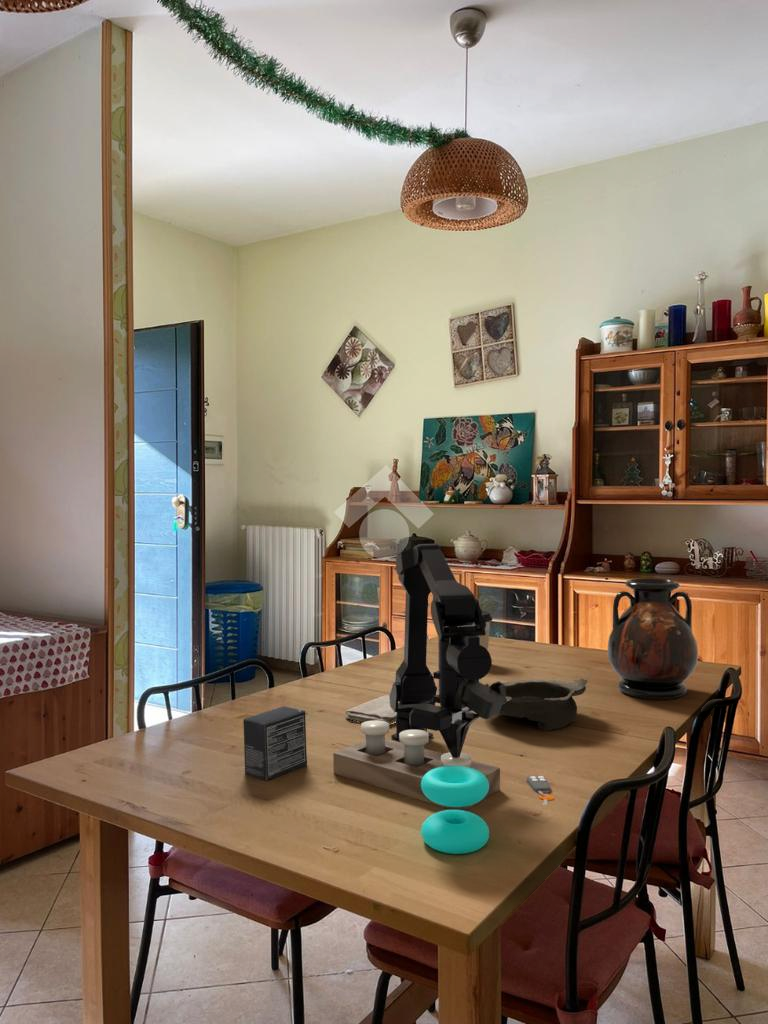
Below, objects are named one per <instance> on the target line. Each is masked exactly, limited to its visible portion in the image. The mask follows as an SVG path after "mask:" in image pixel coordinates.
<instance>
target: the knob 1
mask: <svg viewBox="0 0 768 1024" xmlns="http://www.w3.org/2000/svg"><path fill="white" fill-rule="evenodd" d="M360 732H361V734H363V735H364V736H365V740H366V753H367V754H370V755H374V756H379V755H381V754H384V753H385V739H386V735H387V734H388V733H389V732H390V726H389V723H387V722H385V721H378V720H374V721H366V722H363V723H360Z"/></svg>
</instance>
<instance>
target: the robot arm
mask: <svg viewBox="0 0 768 1024" xmlns="http://www.w3.org/2000/svg"><path fill="white" fill-rule="evenodd" d="M443 548H444V547H443V546H442V544H439V543H418V544H417V545H414V546H413V548H409V549H406V550H403V551H401V552H400V553H399V554H398V555H397V556H396V558H395V571H396V574H397V576H398V577H397V578H398V581H399V583H400V585H401V586H402V588H403V590H404V591H405V605H404V606H405V611H404V645H403V646H404V650H403V660H402V662H401V664H400V665H399V666H398V669H397V670H396V671H395V681H394V682H393V684H392V687H391V690H390V694H389V698H390V707H391V708H392V709H393V711H394V712H397V718H396V724H395V725H396V726H395V729H396V732H395V733H394V734H391V736H390V738H391V739H393V740H394V739H395V740H398V741H399V733H400V732H402V731H405V730H423V731H426V732H428V730H431V731H435V732H440V735H441V736H442V738H443V740H444V743H445V745H446V747H447V748H448V751H449V752H450V753H451V755H452V757H454V758H458V757H460V754H461V752H462V751H463V748H464V744H465V741H466V738H467V734H468V732H469V730H470V729H469V728H470V726H471V725H472V724H473V723H474V722H476V720H478V719H479V718H481V719H484V720H490V719H491V718H492V717H494V716H498V715H500V713H499V712H500V709H501V706H502V705H503V704H505V703H506V702H507V699H506V688H505V684H503V683H504V682H501V681H495V682H493V683H492V684H488V683H486V684H483V683H482V682H480V680H482V679H483V678H485V677H486V676H487V675H488V674H489V672H490V671H491V668H492V665H493V660H492V659H493V658H492V657H491V654H490V652H489V650H488V649H486V648H485V647H483V646H482V645H480V638H479V637H478V636H484V635H485V634H486V633H485V627H486V622H485V619H484V616H483V613H482V611H483V610H482V607H481V605H480V602H479V601H478V599H477V598H476V596H475V595H474V593H473V592H472V590H471V589H470V588H469V587H468V586H467V585H464V584H461V583H459V582H458V581H457V579H456V577H455V575H454V573H453V572H452V571H453V570H452V568H451V567H450V565H449V564H448V561H447V559H446V557H445V556H444V549H443ZM430 594H432V601H431V603H430V615H431V619H432V623H433V625H434V629H435V631H436V635H437V636H438V639H437V640H438V641H437V642H438V643H437V644H438V670H437V671H433V673H432V672H431V670H430V669H429V667H428V666H427V665H428V664H427V651H428V650H427V645H428V622H429V621H428V619H429V618H428V617H429V615H428V613H429V595H430ZM473 622H474V624H475V626H472V625H473ZM432 674H433V675H432ZM435 680H438V686H437V685H436V683H435ZM490 685H491V686H490ZM488 686H490V687H488ZM437 691H438V694H437ZM398 701H399V703H398ZM436 704H439V705H436ZM428 734H429V739H430V738H432V737H433V736H434V733H432V732H428Z"/></svg>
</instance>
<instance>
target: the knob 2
mask: <svg viewBox="0 0 768 1024" xmlns="http://www.w3.org/2000/svg"><path fill="white" fill-rule="evenodd" d="M471 761H472V756H471V755H470V754H468V753H466V752H462V751H461V754H460V757H458V758H454V757H452V755H451V753H450V751H449V752H445V753H443V755H441V765H442V766H463V767H470V766H471Z"/></svg>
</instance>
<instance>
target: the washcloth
mask: <svg viewBox="0 0 768 1024" xmlns="http://www.w3.org/2000/svg"><path fill="white" fill-rule="evenodd" d="M389 696H390V694H388V695H381V696H379V697H378V698H377V697H376V698H373V699H371V700H369V701H368V700H367V701H366V702H363V703H360V704H359V705H357V706H354V707H352V708H348V709H347V710H346V711H345V714H346V715H347V716H346V717H345V720H346V719H348V720H349V719H350V720H349V721H351V720H353V721H352V722H354V721H358V722H357V723H359V722H366V721H374V720H378V721H385V722H387V723H389V725H390V724H391V723H393V722H395V721H396V718H397V712H394V711H393V709H392V708H391V707H390V698H389ZM398 703H399V701H398ZM390 726H391V725H390Z"/></svg>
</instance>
